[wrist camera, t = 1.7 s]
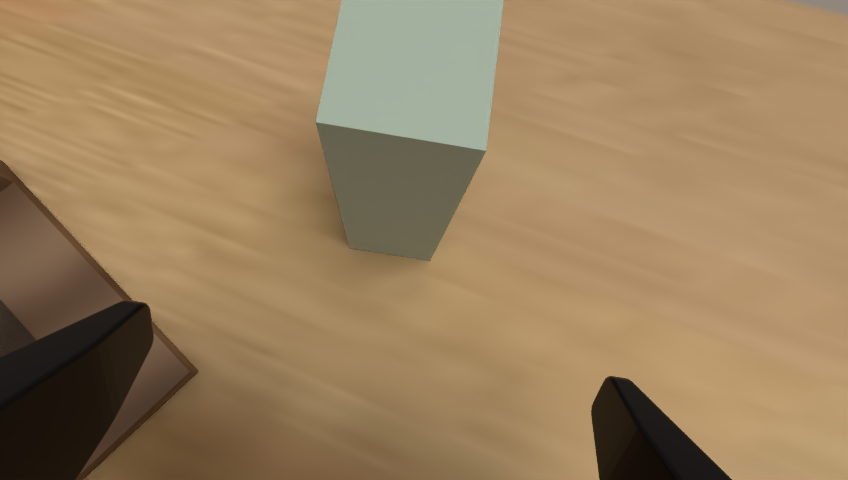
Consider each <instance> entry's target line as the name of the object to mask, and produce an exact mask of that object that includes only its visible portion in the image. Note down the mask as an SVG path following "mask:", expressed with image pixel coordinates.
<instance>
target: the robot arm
mask: <svg viewBox="0 0 848 480" xmlns="http://www.w3.org/2000/svg"><path fill="white" fill-rule="evenodd" d="M153 340H154V333H153V326H152V320H151V313H150V308H149V306H148V305H147V304H146V303H143V302H137V301H130V300H124V301H121V302H118V303H116V304H114V305H112V306H110V307H107V308H105V309H103V310H101V311H99V312H97V313H94V314H92V315H90V316H88V317H86V318H84V319H81V320H79V321H77V322H75V323H73V324H71V325H68V326H66V327H64V328H62V329H60V330H58V331H55V332H53V333H51V334H49V335H47V336H45V337H42V338H40V339H38V340H36V341H34V342H32V343H29V344H27V345H25V346H23V347H21V348H19V349H16V350H14V351H12V352H10V353H8V354H6V355H3V356H1V357H0V480H76V479H77V477H78V476H79V474H80V473H81V471H82V470H83V468H84V466H85V465H86V463H87V462H88V460H89V459H90V457H91V456H92V454H93V453H94V451H95V449H96V448H97V446H98V445H99V443H100V442H101V440H102V439H103V437H104V436H105V434H106V432H107V431H108V429H109V428H110V426H111V424H112V423H113V421H114V420H115V418H116V416H117V414H118V412H119V410H120V409H121V407H122V405H123V403H124V401H125V399H126V397H127V395H128V393H129V391H130V389H131V387H132V385H133V383H134V381H135V379H136V377H137V375H138V373H139V371H140V369H141V367H142V365H143V363H144V361H145V359H146V357H147V355H148V353H149V351H150V349H151V347H152V344H153ZM591 415H592V424H593V432H594V440H595V448H596V456H597V464H598V472H599V479H600V480H732V479H731V478H730V477H729V476H728V475H727V474H726V473H725V472H724V471H723V470H722V469H721V468H720V467H719V466H718V465H716V464H715V463H714V462H713V461H712V460H711V459H710V458H709V457H708V456H707V455H706V454H705V453H704V452H703V451H702V450H701V449H700V448H699V447H698V446H697V445H696V444H695V443H694V442H693V441H692V440H691V439H690V438H689V437H688V436H687V435H686V434H685V433H684V432H683V431H682V430H681V429H680V428H679V427H678V426H677V425H676V424H675V423H674V422H673V421H672V420H671V419H670V418H669V417H668V416H666V415H665V414H664V413H663V412H662V411H661V410H660V409H659V408H658V407H657V406H656V405H655V404H654V403H653V402H652V401H651V400H650V399H649V398H648V397H647V396H646V395H645V394H644V393H643V392H642V391H641V390H640V389H639V388H638V387H637V386H636V385H635V384H634V383H633V382H632V381H630V380H629V379H626V378H621V377H614V376H609V377H607V378H606V379H605V380H604V382H603V384H602V386H601V388H600V390H599V392H598V394H597V396H596V398H595V400H594V402H593V405H592V410H591Z"/></svg>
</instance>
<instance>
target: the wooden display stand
mask: <svg viewBox="0 0 848 480" xmlns="http://www.w3.org/2000/svg"><path fill="white" fill-rule="evenodd" d="M124 300H130V301H132V300H131V298H130V297H129V296H128V295H127V294H126V293H125V292H124V291H123V290H122V289H121V288H120V287H119V286H118V285H117V283H116V282H115V281H114V280H113V279H112V278H111V277H110V276H109V275H108V274H107V273H106V272H105V271H104V270H103V268H102V267H101V266H100V265H99V264H98V263H97V262H96V261H95V260H94V259H93V258H92V257H91V256H90V255H89V253H88V252H87V251H86V250H85V249H84V248H83V247H82V246H81V245H80V244H79V243H78V242H77V241H76V239H75V238H74V237H73V236H72V235H71V234H70V233H69V232H68V231H67V230H66V229H65V228H64V227H63V226H62V224H61V223H60V222H59V221H58V220H57V219H56V218H55V217H54V216H53V215H52V214H51V213H50V212H49V211H48V209H47V208H46V207H45V206H44V205H43V204H42V203H41V202H40V201H39V200H38V199H37V198H36V197H35V196H34V194H33V193H32V192H31V191H30V190H29V189H28V188H27V187H26V186H25V185H24V184H23V183H22V182H21V181H20V179H19V178H18V177H17V176H16V175H15V174H14V173H13V172H12V171H11V170H10V169H9V168H8V167H7V165H6V164H5V163H4V162H3V161H1V160H0V357H1V356H3V355H6V354H8V353H10V352H12V351H14V350H16V349H19V348H21V347H23V346H25V345H27V344H29V343H32V342H34V341H36V340H38V339H40V338H42V337H45V336H47V335H49V334H51V333H53V332H55V331H58V330H60V329H62V328H64V327H66V326H68V325H71V324H73V323H75V322H77V321H79V320H81V319H84V318H86V317H88V316H90V315H92V314H94V313H97V312H99V311H101V310H103V309H105V308H107V307H110V306H112V305H114V304H116V303H118V302H121V301H124ZM152 326H153V333H154V340H153V344H152V347H151V349H150V351H149V353H148V355H147V357H146V359H145V361H144V363H143V365H142V367H141V369H140V371H139V373H138V375H137V377H136V379H135V381H134V383H133V385H132V387H131V389H130V391H129V393H128V395H127V397H126V399H125V401H124V403H123V405H122V407H121V409H120V410H119V412H118V414H117V416H116V418H115V420H114V421H113V423H112V424H111V426H110V428H109V429H108V431H107V432H106V434H105V436H104V437H103V439H102V440H101V442H100V443H99V445H98V446H97V448H96V449H95V451H94V453H93V454H92V456H91V457H90V459H89V460H88V462H87V463H86V465H85V466H84V468H83V470H82V471H81V473H80V474H79V476H78V477H77V479H76V480H82V479H84V478H85V477H86V476H87V475H88V474H89V473H90V472H91V471H92V470H93V469H94V468H95V467H96V466H97V465H99V464H100V463H101V462H102V461H103V460H104V459H105V458H106V457H107V456H108V455H109V454H110V453H111V452H112V451H114V450H115V449H116V448H117V447H118V446H119V445H120V444H121V443H122V442H123V441H124V440H125V439H126V438H127V437H129V436H130V435H131V434H132V433H133V432H134V431H135V430H136V429H137V428H138V427H139V426H140V425H141V424H142V423H143V422H145V421H146V420H147V419H148V418H149V417H150V416H151V415H152V414H153V413H154V412H155V411H156V410H157V409H158V408H160V407H161V406H162V405H163V404H164V403H165V402H166V401H167V400H168V399H169V398H170V397H171V396H172V395H173V394H175V393H176V392H177V391H178V390H179V389H180V388H181V387H182V386H183V385H184V384H185V383H186V382H187V381H188V380H190V379H191V378H192V377H193V376H194V375H195V374H196V373H197V372H198V370H197V369H196V368H195V367H194V366H193V365H192V364H191V363H190V362H189V361H188V360H187V359H186V357H185V356H184V355H183V354H182V353H181V352H180V351H179V350H178V349H177V348H176V347H175V346H174V345H173V344H172V342H171V341H170V340H169V339H168V338H167V337H166V336H165V335H164V334H163V333H162V332H161V331H160V330H159V329H158V327H157V326H156V325H155V324H154V323H153V322H152Z"/></svg>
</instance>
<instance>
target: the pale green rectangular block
mask: <svg viewBox="0 0 848 480" xmlns="http://www.w3.org/2000/svg"><path fill="white" fill-rule="evenodd" d="M503 1H504V0H342V2H341V7H340V12H339V16H338V21H337V26H336V30H335V35H334V40H333V44H332V49H331V53H330V58H329V63H328V67H327V72H326V77H325V81H324V86H323V91H322V95H321V100H320V104H319V109H318V114H317V118H316V125H317V129H318V133H319V136H320V140H321V144H322V148H323V151H324V155H325V159H326V163H327V166H328V170H329V174H330V178H331V181H332V185H333V189H334V192H335V196H336V200H337V204H338V207H339V211H340V215H341V219H342V222H343V226H344V230H345V234H346V237H347V241H348V245H349V248H351V249H357V250H364V251H370V252H377V253H383V254H390V255H396V256H403V257H409V258H415V259H422V260H428V261H430V260H431V258H432V256H433V254H434V252H435V250H436V248H437V246H438V244H439V242H440V240H441V238H442V236H443V234H444V232H445V230H446V228H447V226H448V224H449V223H450V221H451V219H452V217H453V215H454V213H455V211H456V209H457V207H458V205H459V203H460V201H461V199H462V197H463V195H464V193H465V191H466V189H467V187H468V185H469V183H470V181H471V179H472V178H473V176H474V174H475V172H476V170H477V168H478V166H479V164H480V162H481V160H482V158H483V156H484V154H485V152H486V148H487V139H488V130H489V122H490V113H491V105H492V96H493V87H494V79H495V70H496V61H497V53H498V44H499V35H500V27H501V18H502V9H503Z"/></svg>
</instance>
